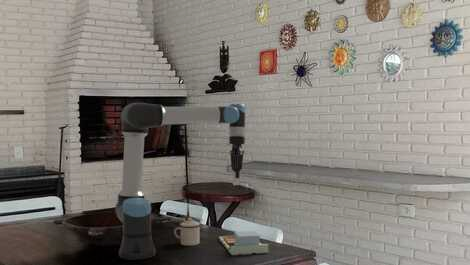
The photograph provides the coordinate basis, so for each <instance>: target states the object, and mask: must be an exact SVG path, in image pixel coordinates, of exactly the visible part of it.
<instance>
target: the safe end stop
mask: <svg viewBox="0 0 470 265" xmlns="http://www.w3.org/2000/svg"><path fill="white" fill-rule="evenodd" d="M230 248H231V254H230V255H231V256H240V255H239V254H241V255H252V253H256V254H265V253H266V254H268V253H269V244H268V243H261V244H257V245H242V246H234V245H231V246H230Z"/></svg>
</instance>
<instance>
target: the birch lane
mask: <svg viewBox="0 0 470 265" xmlns="http://www.w3.org/2000/svg"><path fill="white" fill-rule="evenodd" d="M232 238H234V235H224V236H223V235H221V236H218V239H220V240H219V241H220V242H221V243H222V245H223V246H224V248H226V250H227V251H228V252H229V253H230V255H231V246H230V245H229V243H227V242H226V240H225V239H232ZM260 244H262V243H261V242H260Z"/></svg>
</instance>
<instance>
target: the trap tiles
mask: <svg viewBox="0 0 470 265" xmlns="http://www.w3.org/2000/svg"><path fill="white" fill-rule="evenodd" d="M224 241H225V242H226V241H227V242H226V243H227V244H234V238H232V239H224Z"/></svg>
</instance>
